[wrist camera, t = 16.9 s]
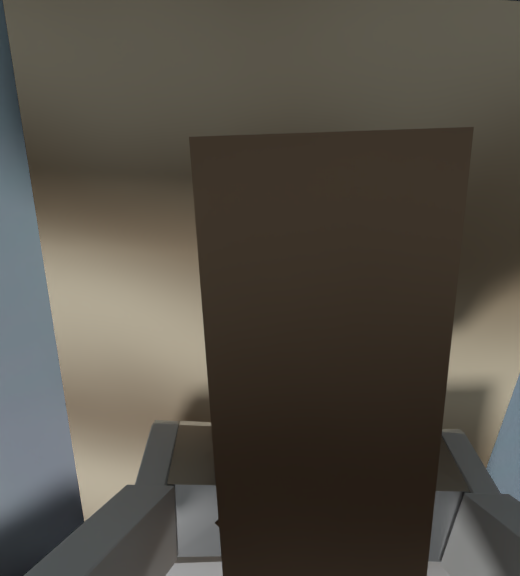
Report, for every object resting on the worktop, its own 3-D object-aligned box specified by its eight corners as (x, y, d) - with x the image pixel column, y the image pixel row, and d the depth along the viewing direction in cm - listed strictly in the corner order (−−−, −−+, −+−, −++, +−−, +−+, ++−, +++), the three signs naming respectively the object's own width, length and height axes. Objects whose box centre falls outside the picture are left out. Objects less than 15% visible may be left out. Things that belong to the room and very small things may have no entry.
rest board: (18, -25, 9) (-3, -33, 8) (616, 14, 9) (647, 9, 9) (111, 637, 18) (106, 660, 18) (410, 641, 19) (417, 664, 18)
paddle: (82, 141, 9) (-50, 145, 5) (508, 126, 9) (710, 119, 5) (168, 732, 14) (137, 956, 10) (433, 721, 14) (501, 939, 10)
